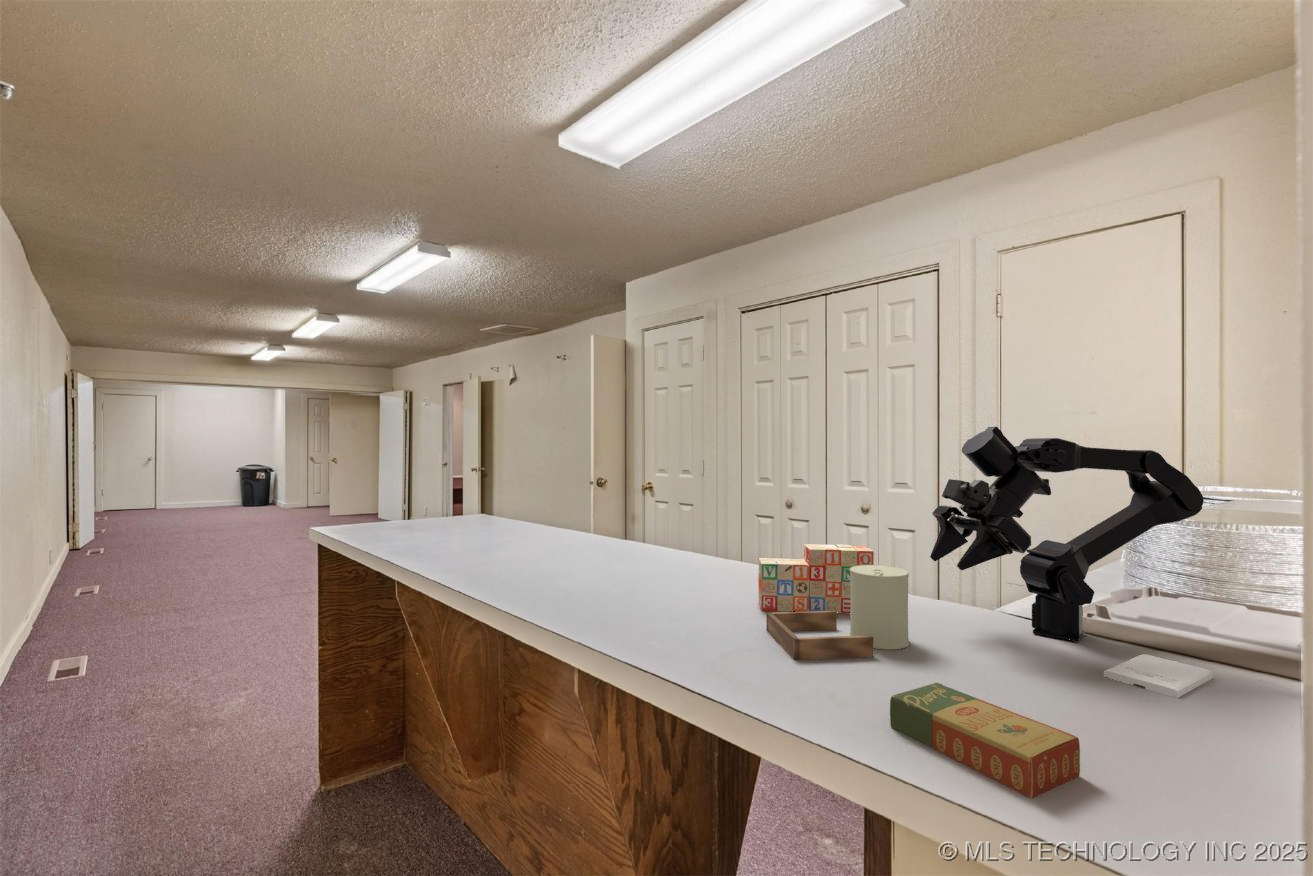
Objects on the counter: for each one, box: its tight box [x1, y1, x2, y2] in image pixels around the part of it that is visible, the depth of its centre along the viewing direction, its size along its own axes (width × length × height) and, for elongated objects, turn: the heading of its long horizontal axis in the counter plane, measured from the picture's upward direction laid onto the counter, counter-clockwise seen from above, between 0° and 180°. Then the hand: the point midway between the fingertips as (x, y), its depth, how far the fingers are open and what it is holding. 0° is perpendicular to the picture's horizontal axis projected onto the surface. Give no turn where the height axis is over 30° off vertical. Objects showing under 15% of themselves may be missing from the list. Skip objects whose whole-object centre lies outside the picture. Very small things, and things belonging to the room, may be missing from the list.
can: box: [849, 564, 910, 651], centre depth 99 cm, size 9×9×12 cm
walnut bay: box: [766, 611, 874, 661], centre depth 98 cm, size 12×15×3 cm
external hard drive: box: [1103, 653, 1214, 699], centre depth 84 cm, size 2×8×12 cm
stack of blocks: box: [758, 543, 875, 614], centre depth 119 cm, size 21×6×12 cm, turn 85°
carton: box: [889, 682, 1081, 799], centre depth 64 cm, size 8×16×4 cm, turn 28°
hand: (945, 563), depth 101 cm, fingers open, 7 cm apart
